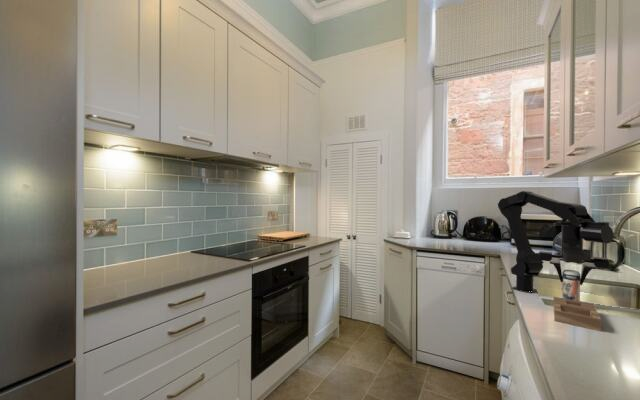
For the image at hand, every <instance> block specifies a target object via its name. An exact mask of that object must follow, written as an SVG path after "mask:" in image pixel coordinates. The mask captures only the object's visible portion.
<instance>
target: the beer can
mask: <svg viewBox="0 0 640 400" xmlns="http://www.w3.org/2000/svg"><path fill="white" fill-rule="evenodd" d="M561 272H562V282H561V287H562V288H561V298H564V299H570V300H575V301H581V300H580V299H581V297H580V296H581V285H580V277H581V272H579V271H577V270H573V269H563V271H561Z"/></svg>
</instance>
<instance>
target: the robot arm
mask: <svg viewBox="0 0 640 400" xmlns="http://www.w3.org/2000/svg"><path fill="white" fill-rule="evenodd" d="M528 204H532V205H534V206H537V207H539V208H542V209H545V210H548V211H550V212H552V213H553V215H555V216H556V217H558V218H560V220H558V221H557V222H556V223H555V224H554V225H555V226H561V241H560V242H561V246H560V247H561V249H560V250H561V251H560V252H561V254H553V253H552V251H543V250H542V251H541V250H539V252H535V251H534V250H533V249H532V246H531V243H530V240H529V238H528V234H527V232H526V229H525V226H524V223H523V220H522V212H523V207H525V206H527V205H528ZM497 208H498V209H499V212H500V213H501V215H502V216H503V217H504V218H506V220H507V222H508V226H509V229H510V232H511V235H512V238H513V240H514V244H515V247H516V251H517V252H516V256H515V261H516V264H515V265H513V266H511V268H510V273H511V274H512V275H515V276H516V277H515V278H516V280H515V286H513V287H511V288H512V289H513V290H516V289H518V290H517V291H520V290H523V291H522V292H524V291H527V292H526V293H528V292H529V291H530V292H531V291H535V292H537V291H538V289H535V288H534V277H536V276H537V277H538V276H539V274H540V272H541V271H542V270H543V267H544V265H543V264H544V263H545V262H549V264H550V265H553V267H554V268H555V270H556V272H557V275H558V278H559V281H560V282H561V283H562V277H563V273H562V272H563V271H562V266H561V261H563V262H565V263H567V264H568V263H569V264H570V263H573V264H577V265H582V267H581V272H580V286H583V284H584V282H585V280H586V277H588V274H589V273H590V272H591V271H592V270H597V268H601V269H602V268H603V269H611V260H609V259H608V258H607V257H601V256H592V251H591V249H587V248H586V249H584V241H585V242H590V243H591V242H592V243H597V244H599V243H600V244H608V245H609V244H611V242H612V241H613V240H614V236H615V232H613V229H612V227H611V226H610V223H609V222H608V221H607V222H606V221H600V222H599V221H597V222H596V221H595V220H594V218H593V217H592V216H591V215H590V213H589V212H588V209H587V207H586V206H585V205H583V204H580V203H579V204H578V203H573V202H572V203H571V202H565V201H559V200H556V199H553V198H551V197H550V198H549V197H546V196H543V195H540V194H537V193H534V192H533V191H525V190H522V191H519V192H518V193H516V194H512V195H509V196H507V197H503V198H501V199H499V202H498V203H497ZM531 293H532V292H531Z"/></svg>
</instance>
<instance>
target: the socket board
mask: <svg viewBox="0 0 640 400" xmlns="http://www.w3.org/2000/svg"><path fill="white" fill-rule="evenodd" d="M553 316H554V317H553V319H554V322H557V323H562V324H567V325H572V326H576V327H579V328H580V327H581V328H586V329H588V330H589V329H590V330H594V331H599V332H602V318H601V317H600V315H599V313H598V310H597V309H596V306H595V305H594V303H590V302H586V301H581V300H580V301H575V300H570V299H564V298H562V297H558V296H553Z"/></svg>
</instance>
